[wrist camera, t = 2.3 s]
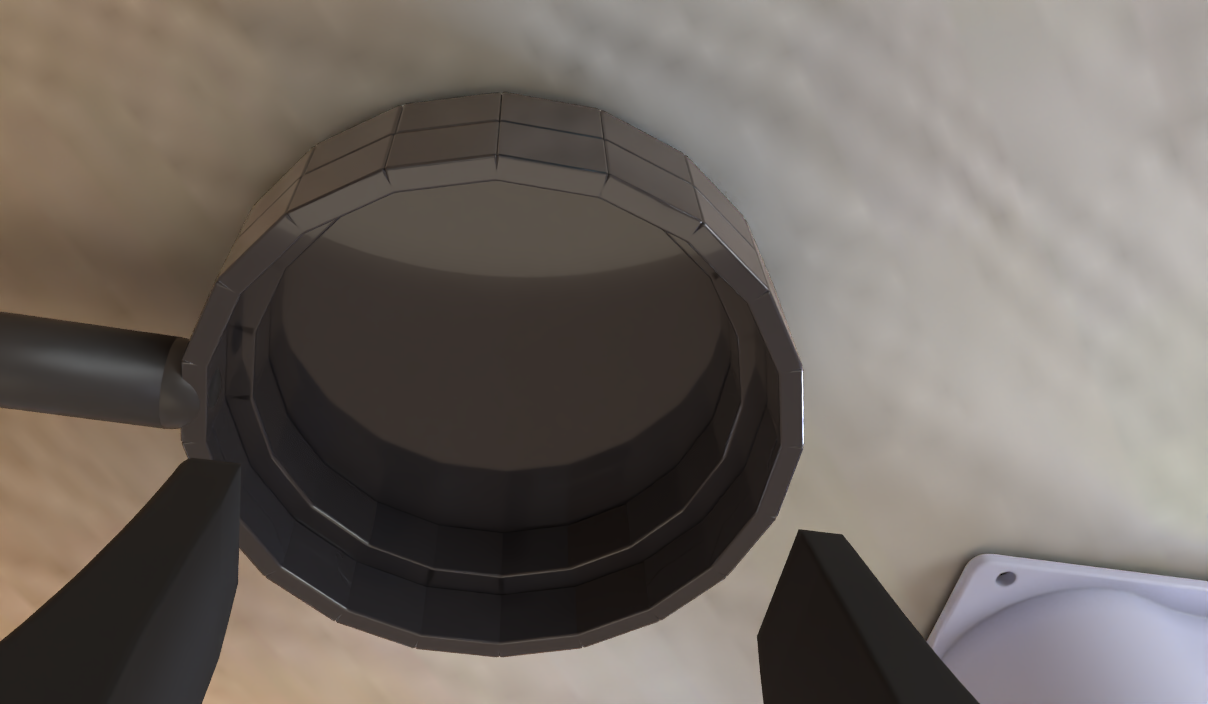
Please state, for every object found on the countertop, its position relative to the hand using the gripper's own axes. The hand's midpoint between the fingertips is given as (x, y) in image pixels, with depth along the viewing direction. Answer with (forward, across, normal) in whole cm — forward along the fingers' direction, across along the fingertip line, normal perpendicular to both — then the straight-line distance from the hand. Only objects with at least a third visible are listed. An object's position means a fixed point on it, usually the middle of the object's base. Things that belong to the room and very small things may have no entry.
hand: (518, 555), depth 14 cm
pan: (+10, 0, +4) cm, 11 cm away
